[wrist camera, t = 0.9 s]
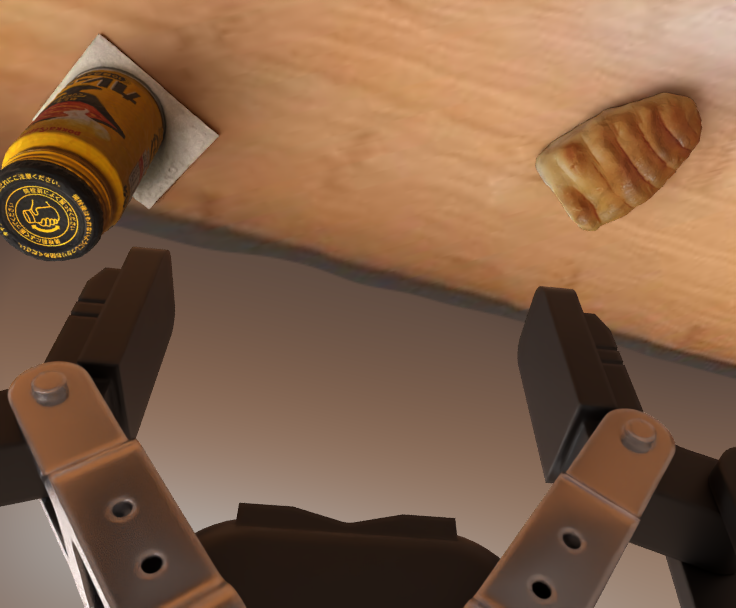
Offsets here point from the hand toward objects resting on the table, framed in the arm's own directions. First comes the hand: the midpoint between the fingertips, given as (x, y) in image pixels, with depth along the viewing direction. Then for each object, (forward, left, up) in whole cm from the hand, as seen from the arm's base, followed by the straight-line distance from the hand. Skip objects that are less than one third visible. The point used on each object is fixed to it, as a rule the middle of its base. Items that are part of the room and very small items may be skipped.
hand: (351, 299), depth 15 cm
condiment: (+4, -16, -28) cm, 32 cm away
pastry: (+13, +12, -28) cm, 33 cm away
